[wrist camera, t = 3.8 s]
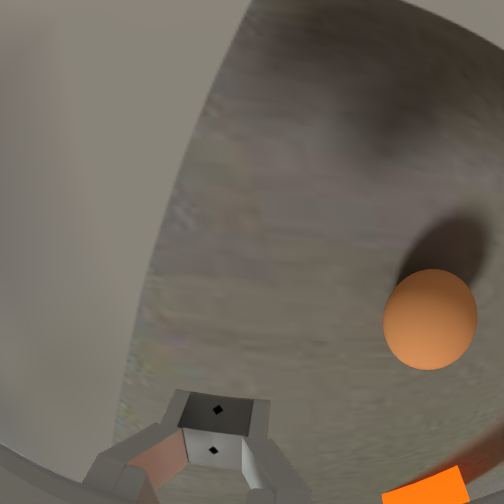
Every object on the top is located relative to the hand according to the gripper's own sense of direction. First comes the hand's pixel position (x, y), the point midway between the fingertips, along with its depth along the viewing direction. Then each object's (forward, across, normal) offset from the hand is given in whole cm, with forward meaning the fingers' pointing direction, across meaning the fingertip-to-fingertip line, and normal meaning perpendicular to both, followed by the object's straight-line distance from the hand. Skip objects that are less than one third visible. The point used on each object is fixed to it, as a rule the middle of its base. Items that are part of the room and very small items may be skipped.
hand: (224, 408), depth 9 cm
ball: (+7, +10, 0) cm, 12 cm away
